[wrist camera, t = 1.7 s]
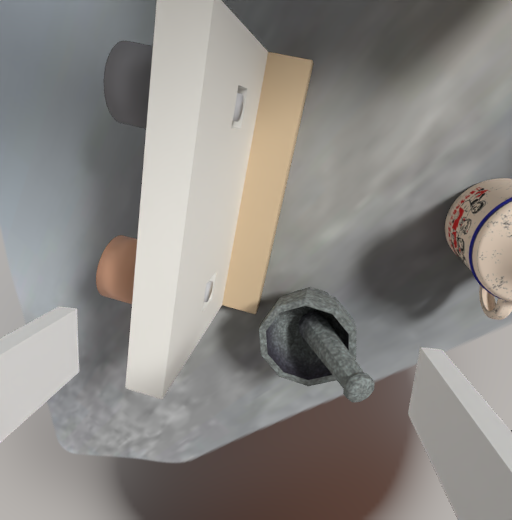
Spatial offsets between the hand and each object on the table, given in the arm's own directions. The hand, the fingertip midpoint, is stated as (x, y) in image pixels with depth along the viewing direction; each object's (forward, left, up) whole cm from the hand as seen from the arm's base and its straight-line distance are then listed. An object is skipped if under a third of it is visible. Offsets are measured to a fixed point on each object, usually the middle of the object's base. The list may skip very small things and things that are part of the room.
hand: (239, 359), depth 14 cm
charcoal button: (-12, -6, -21) cm, 25 cm away
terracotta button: (+2, -13, -21) cm, 25 cm away
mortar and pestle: (+12, -1, -28) cm, 30 cm away
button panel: (-3, -5, -27) cm, 28 cm away
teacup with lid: (+6, +17, -28) cm, 33 cm away
